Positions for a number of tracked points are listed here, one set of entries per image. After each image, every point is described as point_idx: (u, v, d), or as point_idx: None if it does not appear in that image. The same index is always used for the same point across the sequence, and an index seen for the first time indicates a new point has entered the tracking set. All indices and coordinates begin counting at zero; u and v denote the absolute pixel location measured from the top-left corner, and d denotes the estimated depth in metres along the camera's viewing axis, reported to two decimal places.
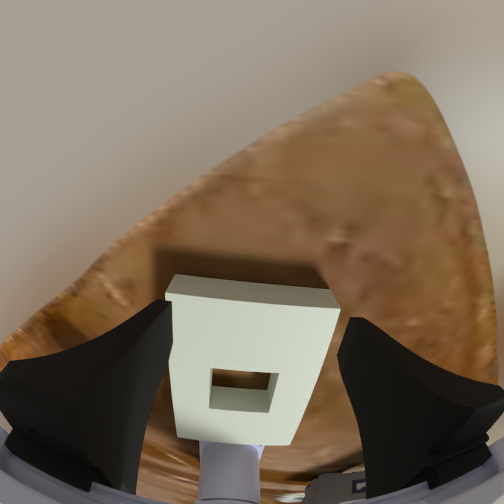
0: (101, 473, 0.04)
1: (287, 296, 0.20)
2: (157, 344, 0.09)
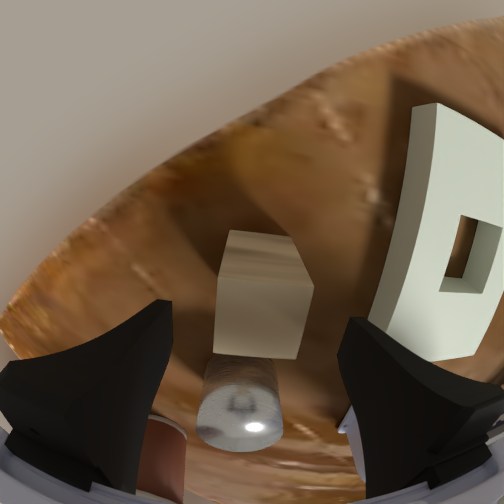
0: (101, 473, 0.04)
1: None
2: (156, 344, 0.09)
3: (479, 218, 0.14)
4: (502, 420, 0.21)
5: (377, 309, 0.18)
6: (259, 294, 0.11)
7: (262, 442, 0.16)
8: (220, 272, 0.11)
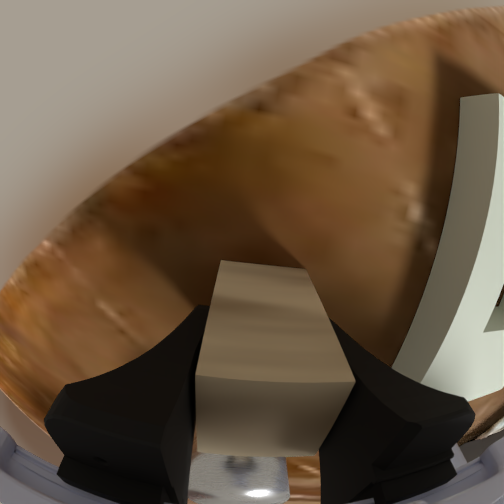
0: (171, 492, 0.04)
1: None
2: None
3: None
4: None
5: (408, 353, 0.14)
6: (266, 397, 0.06)
7: None
8: (200, 361, 0.06)
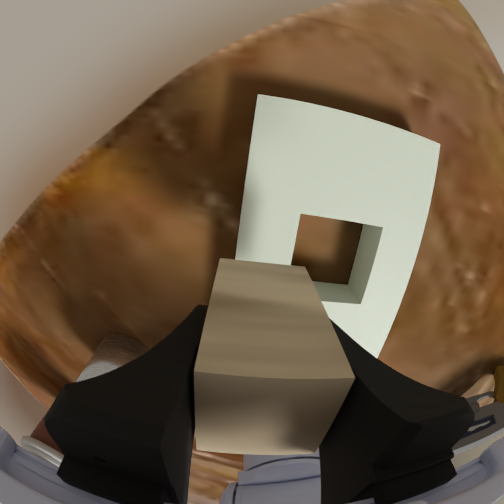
0: (171, 492, 0.04)
1: None
2: None
3: (334, 216, 0.16)
4: None
5: None
6: (265, 393, 0.06)
7: None
8: (198, 358, 0.06)
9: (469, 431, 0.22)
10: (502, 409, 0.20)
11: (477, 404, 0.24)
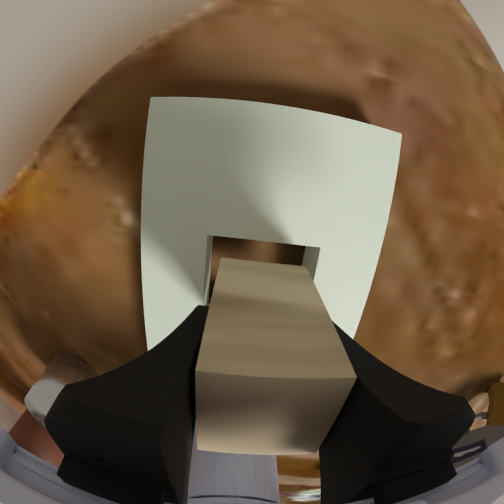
0: (171, 492, 0.04)
1: None
2: None
3: (251, 237, 0.13)
4: None
5: None
6: (266, 393, 0.06)
7: None
8: (200, 357, 0.06)
9: (456, 457, 0.19)
10: (495, 433, 0.17)
11: None
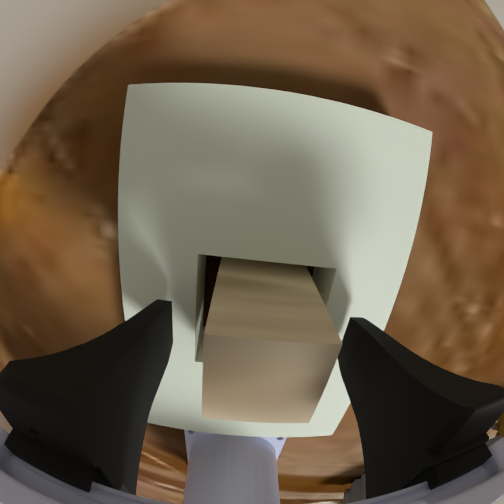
0: (101, 473, 0.04)
1: None
2: (156, 344, 0.09)
3: (252, 257, 0.11)
4: None
5: None
6: (264, 356, 0.07)
7: None
8: (207, 324, 0.07)
9: None
10: None
11: None
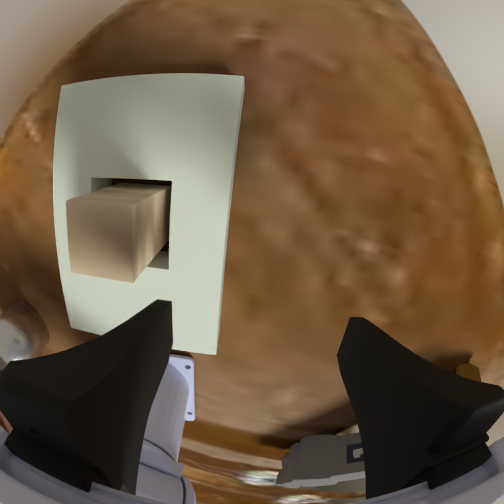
0: (101, 473, 0.04)
1: None
2: (156, 344, 0.09)
3: (119, 176, 0.15)
4: None
5: None
6: (92, 214, 0.12)
7: None
8: None
9: None
10: None
11: None
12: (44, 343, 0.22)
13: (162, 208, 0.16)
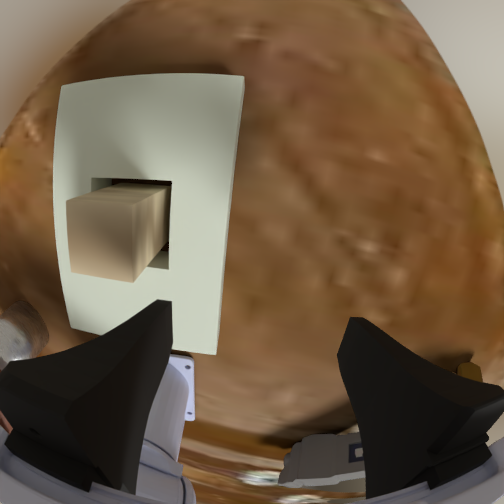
0: (101, 473, 0.04)
1: None
2: (156, 344, 0.09)
3: (119, 176, 0.15)
4: None
5: None
6: (93, 214, 0.12)
7: None
8: None
9: None
10: None
11: None
12: (44, 343, 0.22)
13: (162, 208, 0.16)
